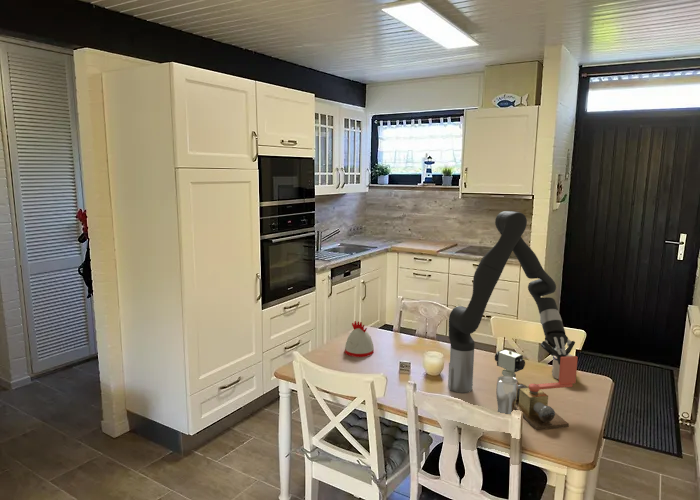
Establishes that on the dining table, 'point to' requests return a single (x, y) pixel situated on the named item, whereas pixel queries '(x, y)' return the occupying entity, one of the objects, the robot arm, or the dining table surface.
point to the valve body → (537, 409)
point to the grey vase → (506, 394)
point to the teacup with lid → (556, 367)
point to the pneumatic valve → (509, 362)
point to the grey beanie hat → (359, 342)
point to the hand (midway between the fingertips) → (563, 365)
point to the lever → (561, 375)
